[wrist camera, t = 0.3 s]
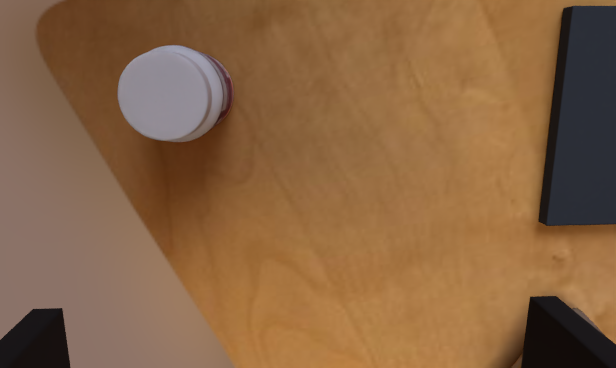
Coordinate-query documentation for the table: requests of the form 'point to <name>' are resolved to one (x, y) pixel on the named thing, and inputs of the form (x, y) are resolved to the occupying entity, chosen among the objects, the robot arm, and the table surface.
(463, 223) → the table surface
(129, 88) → the pill bottle
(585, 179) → the mat
